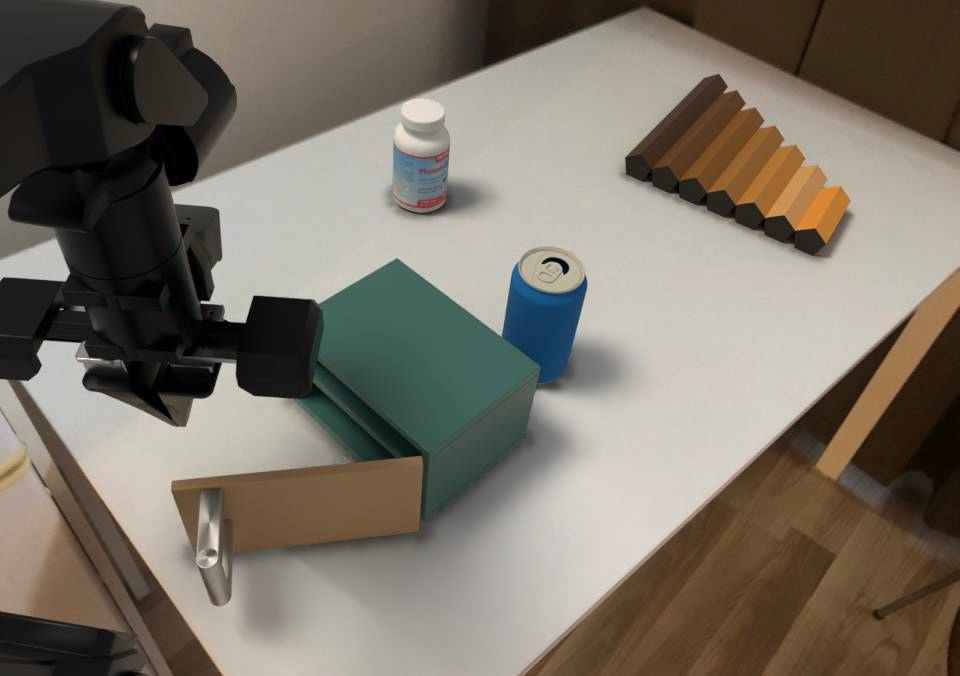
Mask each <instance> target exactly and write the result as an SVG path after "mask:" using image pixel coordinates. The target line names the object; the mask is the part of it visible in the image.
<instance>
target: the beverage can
mask: <svg viewBox="0 0 960 676" xmlns="http://www.w3.org/2000/svg"><path fill="white" fill-rule="evenodd" d="M588 285H589V284H588V279H587V275H586V268H585V265H584V263H583V262H582V260H581V259H580V258H579V257H578V256H577V255H576V254H574V253H573V252H571V251H569V250H567V249H565V248H561V247H559V246H558V247H557V246H551V245H542V246H536V247H533V248H530V249H528V250H527V251H525V252H524V253H523V254H522V255H521V257H520V258H519V261H517V263H516V264H515V265H514V267H513V268H512V271H511V275H510V282H509V287H508V294H507V301H506V307H505V314H504V318H503V319H504V320H503V324H502V325H503V326H502V332H501V337H502V338H504V339H505V340H506V341H508V342H509V343H510V344H512V345H513V346H514V347H516V348H517V349H518V350H520V351H521V352H522V353H524V354H525V355H526V356H528V357H529V358H530V359H532V360H533V361H534V362H536V363H537V364H538V365H540V372H539V377H538V381H537V385H543V384H544V385H545V384H548V383H552V382H554V381H556V380H557V379H559V378H560V377H562V375H564V373H565V372H566V370H567V368H568V364H569V361H570V357H571V353H572V349H573V345H574V341H575V337H576V334H577V330H578V326H579V322H580V319H581V314H582V310H583V306H584V302H585V299H586V295H587V291H588Z"/></svg>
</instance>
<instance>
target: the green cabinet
mask: <svg viewBox="0 0 960 676" xmlns="http://www.w3.org/2000/svg"><path fill="white" fill-rule="evenodd" d="M318 305H319V306H320V307H321V308H322V310H323V321H324V330H323V335H322V340H321V345H320V350H319V354H318V359H317V364H316V369H315V374H314V379H313V384H312V389H311V392H310V393H309V394H307V395H305V396H304V397H302V398H300V399H293V400H294V402H295V403H296V404H298V405H299V406H300V407H301V408H302V409H303V410H304V411H305V412H306V413H307V414H308V415H309V416H311V417H312V418H313V420H314V421H316V423H318V424H319V425H320V426H321V427H322V428H323V429H324V430H325V431H326V432H327V433H329V434H330V435H331V437H332V438H334V439H335V440H336V441H337V442H338V443H339V444H340V445H341V446H342V447H343V448H345V450H347V451H348V452H349V454H351V455H352V456H353V458H355V459H356V460H357V462H366V461H376V460H386V459H396V458H406V457H416V456H422V460H423V476H422V492H421V508H420V521H422V522H423V523H426V522H428V520H430V519H431V518H433V516H435V515H436V514H437V513H438V512H439V511H441V510H443V508H444V507H445V506H446V505H447V504H449V503H450V502H451V501H453V500H454V499H455V498H456V497H458V496H459V494H460V493H462V492H463V491H464V490H465V489H467V488H468V487H469V486H470V485H471V484H473V482H475V481H476V480H477V479H478V478H480V477H481V476H482V475H483V474H484V473H486V472H487V471H488V470H489V469H491V467H493V466H494V465H495V464H496V463H498V462H499V461H500V460H501V459H502V458H503V457H504V456H505V455H507V454H508V453H509V452H510V451H512V450H513V449H515V447H516V446H517V445H519V444H520V443H521V442H522V441H524V439H526V435H527V431H528V426H529V421H530V418H531V412H532V407H533V404H534V400H535V399H534V398H535V394H536V389H537V385H538V384H537V381H538V377H539V372H540V365H538V364H537V363H536V362H534V361H533V360H532V359H530V358H529V357H528V356H526V355H525V354H524V353H522V352H521V351H520V350H518V349H517V348H516V347H514V346H513V345H512V344H510V343H509V342H508V341H506V340H505V339H504V338H502V335H500V334H499V333H497V332H496V331H494V330H493V329H492V328H490V327H489V326H488V325H486V324H485V323H484V322H483V321H481V320H480V319H479V318H478V317H476V316H475V315H473V314H472V313H471V312H469V311H468V310H467V309H465V308H464V307H463V306H461V305H460V304H459V303H458V302H456V301H455V300H453V299H452V298H451V297H450V296H448V295H447V294H446V293H444V292H443V291H442V290H440V289H439V288H438V287H437V286H435V285H434V284H432V283H431V282H429V281H428V280H427V279H426V278H424V277H423V276H422V275H420V274H419V273H417V272H416V271H415V270H414V269H413V268H411V267H410V266H408V265H407V264H406V263H404V262H403V261H402V260H401V259H399V257H396V258H394V259H393V260H391V261H389V262H387V263H386V264H384V265H383V266H381V267H379V268H377V269H376V270H374V271H371V272H370V273H369V274H367V275H365V276H364V277H362V278H360V279H359V280H357V281H355V282H353V283H352V284H350V285H348V286H346V287H345V288H342V289H341V290H339V291H338V292H336V293H335V294H333V295H331V296H329V297H327V298H326V299H324V300H322V301H321V302H319V303H318Z"/></svg>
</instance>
